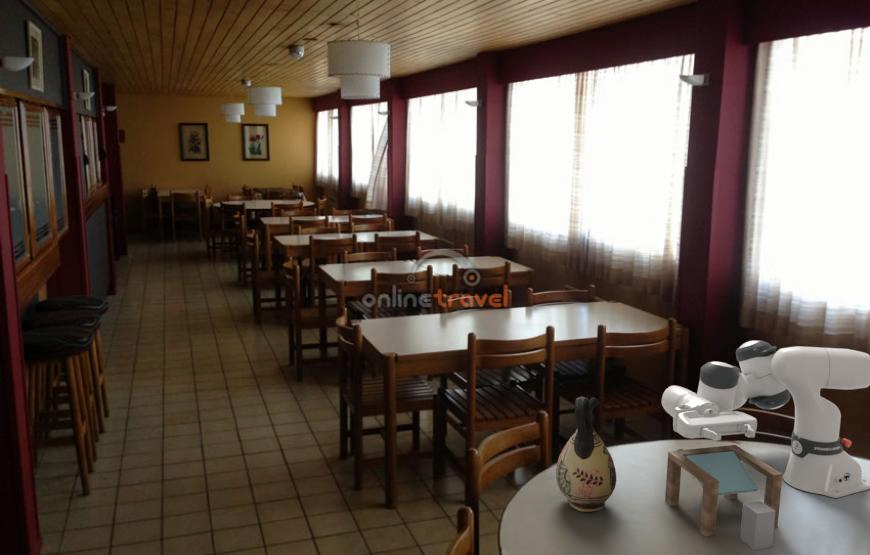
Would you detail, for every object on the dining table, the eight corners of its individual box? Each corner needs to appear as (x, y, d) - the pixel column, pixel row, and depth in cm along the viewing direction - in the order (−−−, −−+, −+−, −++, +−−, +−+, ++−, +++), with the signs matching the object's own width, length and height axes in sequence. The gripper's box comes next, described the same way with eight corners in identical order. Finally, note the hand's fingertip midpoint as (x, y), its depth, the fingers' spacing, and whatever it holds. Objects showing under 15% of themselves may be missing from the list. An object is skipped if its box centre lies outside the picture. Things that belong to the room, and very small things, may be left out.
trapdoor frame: (731, 493, 198) (735, 444, 196) (777, 527, 181) (782, 474, 178) (664, 501, 194) (668, 451, 191) (705, 536, 176) (709, 482, 174)
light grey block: (775, 511, 170) (772, 546, 172) (761, 501, 175) (758, 536, 177) (757, 513, 169) (753, 549, 171) (743, 503, 174) (740, 538, 176)
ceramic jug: (565, 486, 202) (569, 381, 197) (621, 498, 195) (626, 390, 190) (544, 512, 188) (548, 400, 182) (604, 526, 180) (610, 411, 175)
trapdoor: (732, 453, 193) (733, 451, 192) (757, 491, 183) (758, 488, 183) (684, 458, 189) (685, 455, 189) (707, 496, 180) (708, 494, 180)
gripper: (736, 424, 196) (771, 444, 183) (667, 431, 191) (698, 452, 178) (738, 402, 195) (773, 420, 182) (669, 408, 190) (700, 427, 177)
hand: (735, 436), depth 180 cm, fingers open, 8 cm apart
